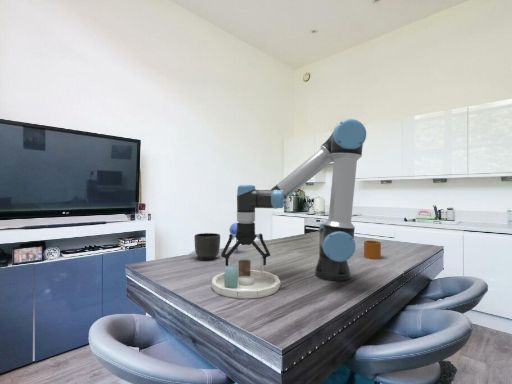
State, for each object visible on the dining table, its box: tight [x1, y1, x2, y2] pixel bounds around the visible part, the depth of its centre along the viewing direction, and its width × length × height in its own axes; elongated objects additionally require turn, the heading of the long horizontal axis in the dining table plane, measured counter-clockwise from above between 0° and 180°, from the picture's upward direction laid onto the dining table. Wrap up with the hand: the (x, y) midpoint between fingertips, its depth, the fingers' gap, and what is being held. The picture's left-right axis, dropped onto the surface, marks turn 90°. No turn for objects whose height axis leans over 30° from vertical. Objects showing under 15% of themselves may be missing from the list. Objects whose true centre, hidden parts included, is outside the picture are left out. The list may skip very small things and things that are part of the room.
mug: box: [363, 240, 382, 260], centre depth 157 cm, size 9×12×9 cm
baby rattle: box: [229, 222, 239, 254], centre depth 165 cm, size 9×9×18 cm
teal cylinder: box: [223, 265, 238, 289], centre depth 104 cm, size 5×5×7 cm
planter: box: [194, 232, 221, 261], centre depth 150 cm, size 14×14×13 cm
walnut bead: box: [237, 259, 252, 278], centre depth 114 cm, size 5×5×7 cm
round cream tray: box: [211, 269, 281, 300], centre depth 107 cm, size 26×26×3 cm
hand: (245, 273), depth 114 cm, fingers open, 13 cm apart
